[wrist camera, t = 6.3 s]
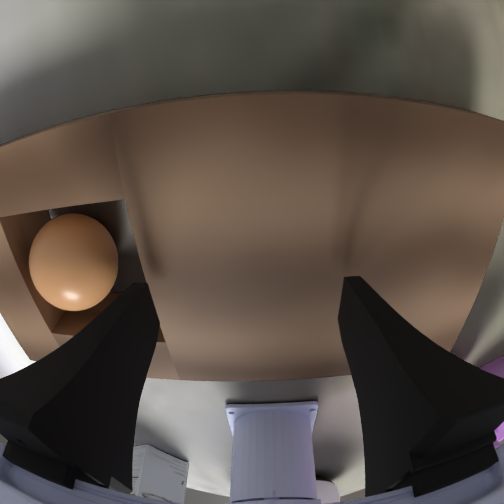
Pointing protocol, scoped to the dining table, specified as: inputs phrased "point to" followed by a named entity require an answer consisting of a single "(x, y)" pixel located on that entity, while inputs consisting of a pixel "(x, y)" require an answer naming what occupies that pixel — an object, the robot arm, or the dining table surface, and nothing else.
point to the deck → (265, 221)
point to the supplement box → (158, 475)
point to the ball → (73, 262)
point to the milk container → (327, 491)
